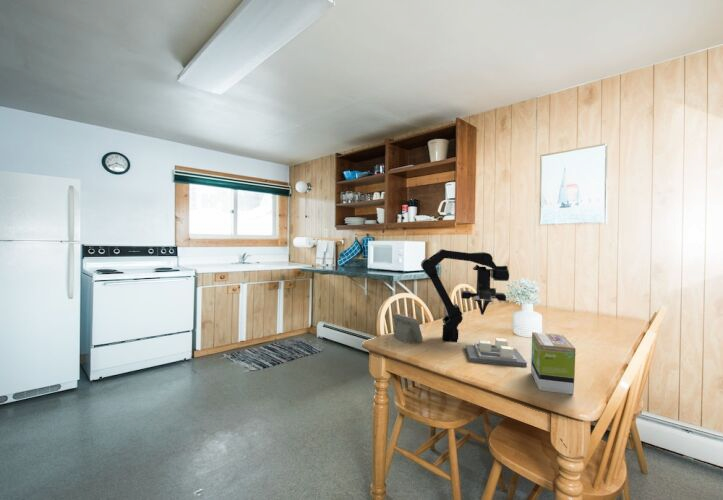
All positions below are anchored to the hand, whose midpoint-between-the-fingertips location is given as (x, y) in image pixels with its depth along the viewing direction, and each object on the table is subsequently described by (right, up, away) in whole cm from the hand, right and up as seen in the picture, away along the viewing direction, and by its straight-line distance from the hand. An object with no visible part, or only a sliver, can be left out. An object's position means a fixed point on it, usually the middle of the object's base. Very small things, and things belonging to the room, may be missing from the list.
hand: (482, 314), depth 158 cm
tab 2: (+2, -11, -16) cm, 20 cm away
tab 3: (0, -12, -26) cm, 28 cm away
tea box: (+7, -15, -44) cm, 46 cm away
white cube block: (-6, -11, -19) cm, 23 cm away
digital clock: (-34, -12, +1) cm, 36 cm away
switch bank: (-2, -13, -20) cm, 24 cm away
